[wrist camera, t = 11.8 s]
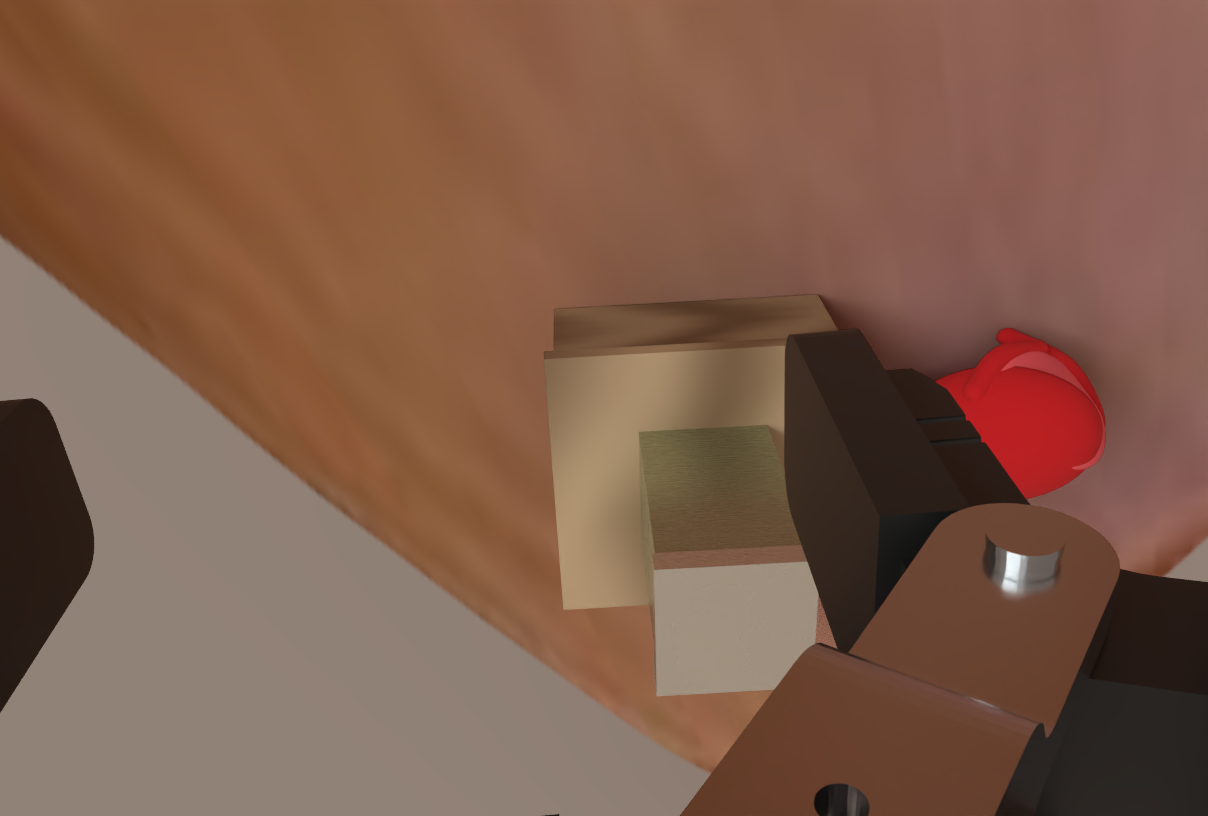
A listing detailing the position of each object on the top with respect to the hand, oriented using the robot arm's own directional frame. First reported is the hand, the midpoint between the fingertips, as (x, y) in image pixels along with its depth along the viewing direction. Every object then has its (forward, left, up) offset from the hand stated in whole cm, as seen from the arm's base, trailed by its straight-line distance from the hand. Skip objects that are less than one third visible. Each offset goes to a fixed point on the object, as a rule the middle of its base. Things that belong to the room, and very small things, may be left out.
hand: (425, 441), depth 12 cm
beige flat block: (-6, +15, -27) cm, 31 cm away
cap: (-17, +14, -27) cm, 35 cm away
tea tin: (-6, +15, -22) cm, 27 cm away
